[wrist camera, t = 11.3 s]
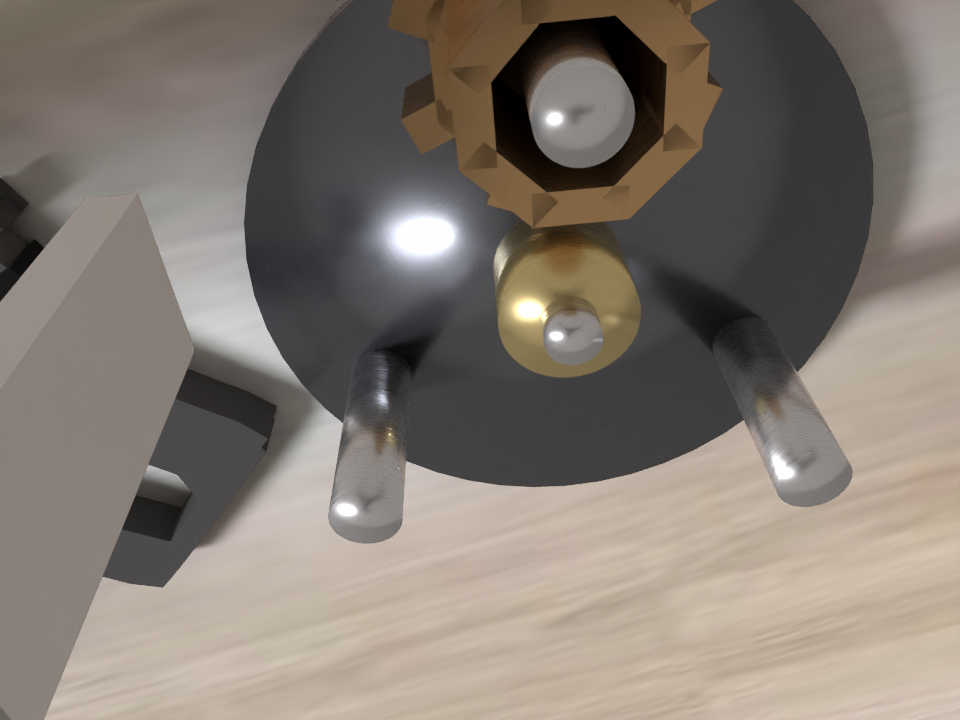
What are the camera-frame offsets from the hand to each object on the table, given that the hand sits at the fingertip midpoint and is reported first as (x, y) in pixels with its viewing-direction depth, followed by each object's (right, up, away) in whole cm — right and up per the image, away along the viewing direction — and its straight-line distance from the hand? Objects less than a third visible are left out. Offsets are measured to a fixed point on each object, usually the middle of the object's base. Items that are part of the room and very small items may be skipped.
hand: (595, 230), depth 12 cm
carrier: (+1, +2, +14) cm, 14 cm away
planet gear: (0, +7, +9) cm, 11 cm away
